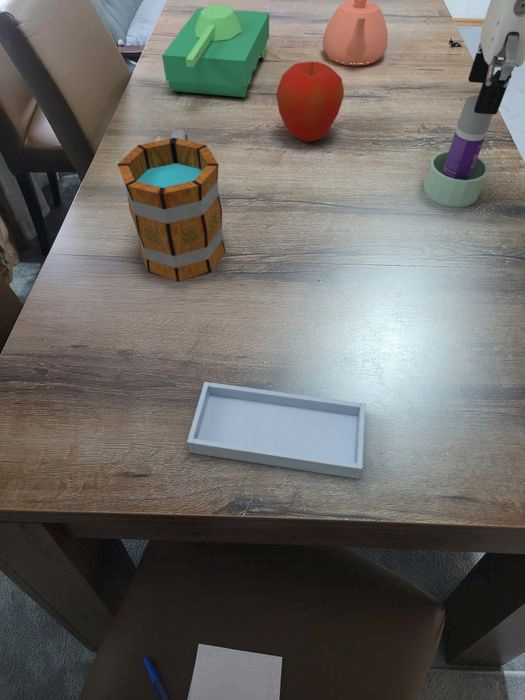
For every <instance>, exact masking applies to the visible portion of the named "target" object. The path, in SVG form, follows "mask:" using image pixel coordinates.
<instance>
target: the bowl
mask: <svg viewBox="0 0 525 700" xmlns="http://www.w3.org/2000/svg"><path fill="white" fill-rule="evenodd" d="M448 152H449V150H445V151H444V150H443V151H440V152H438V153H436V154H434V155H433V156H432V157H431V159H430V161H429V166H428V168H427V171H426V175H425V178H424V182H423V192H424V194H425V196H426V197H428V199H429V200H431V201H433V202H434V203H435V204H438V205H441V206H445V207H448V208H449V207H450V208H464V207H468V206H470V205H472V204H474V203H476V201H477V200H478V198H479V196H480V194H481V192H482V189H483V186H484V184H485V182H486V180H487V177H488V174H489V171H490V170H489V165H488V163H487V162H486V161H485V160H484V159H483V158H481V157H479V156H478V158H477V161H476V163H475V166H474V169H473V171H472V174H471V177H470V180H459V179H454V178H450V177H447V176H445V175H443V174H442V172H443V168H444V165H445V162H446V159H447V156H448Z"/></svg>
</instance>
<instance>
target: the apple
mask: <svg viewBox="0 0 525 700" xmlns="http://www.w3.org/2000/svg"><path fill="white" fill-rule="evenodd" d="M344 95H345V90H344V83H343V79H342V77H341V76H340V75H339V74H338V73H337V72H336V71H335V70H334V69H333V68H332V67H331V66H329V65H328V64H326V63H323V62H319V61H304V62H298V63H295V64H293V65H292V66H290V67H289V68H288V69H287V70H286V71H285V72H284V73H283V74H282V75H281V77H280V80H279V84H278V86H277V90H276V95H275V96H276V102H277V109H278V114H279V115H280V117H281V120H282V122H283V125H284V126H285V128H286V130H287V131H288V132H289V133H290V134H291V135H292V136H293V137H294V138H296V139H297V140H299V141H302V142H304V143H311V142H316V141H317V140H320V139H321V138H323V137H325V136H326V135H327V134H328V132H329V131H330V129H331V127H332V125H333V124H334V122H335V120H336V119H337V117H338V115H339V112H340V109H341V106H342V103H343V100H344Z"/></svg>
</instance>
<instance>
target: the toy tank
mask: <svg viewBox="0 0 525 700" xmlns="http://www.w3.org/2000/svg"><path fill="white" fill-rule="evenodd" d="M269 38H270V12H265V11H264V12H263V11H247V10H234V9H233V8H232V7H231V6H226V5H223V4H217V5H209V6H207V7H205V8H196V9H195V10H194V12H193V13H192V15H191V16H190V17H189V19H188V20H187V21H186V23H185V24H184V26H183V27H182V28H181V29H180V31H179V32H178V34H177V35H176V36H175V37H174V39H173V40H172V41H171V42H170V44H169V45H168V47H167V48H166V49H165V50H164V52H163V53H162V55H161V57H162V63H163V69H164V76H165V81H166V82H167V83H168V86H169V89H170V90H171V91H172V92H179V93H189V94H201V95H213V96H224V97H237V98H245V97H246V95H247V91H248V86H249V85H250V83H251V80H252V75H253V73H254V72H255V71H256V70H257V67H258V63H259V60H260V59H264V58H265V56H266V53H267V45H268V44H267V43H268V40H269ZM260 56H261V57H260ZM171 91H170V92H171Z"/></svg>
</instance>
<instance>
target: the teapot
mask: <svg viewBox="0 0 525 700" xmlns="http://www.w3.org/2000/svg"><path fill="white" fill-rule="evenodd" d="M388 34H389V33H388V27H387V23H386V20H385V17H384V14H383V11H382V10H381V7H380V6H379V5H378V4H377V3H375V2H374V1H370V0H348V1H344V2H342V3H340V4H339V6H338V7H337V8H336V10H335V11H334V13H333V14H332V16H331V18H330V19H329V21H328V23H327V25H326V27H325V30H324V34H323V37H322V48H323V50H324V52H325V54H326V55H327V57H328V58H329V59H330V60H331V61H333V62H336V63H337V64H341V65H346V66H356V67H357V66H366V65H370V64H373V63H375V62H377V61H378V60H379V59H380V58H381V57H382V56H383V55H384V54H385V53H386V51H387V49H388V42H389V35H388ZM336 60H337V61H336ZM372 61H373V62H372ZM343 62H344V63H343ZM367 62H369V63H367ZM350 63H352V64H350ZM353 63H355V64H353ZM357 63H358V64H357ZM359 63H363V64H359Z"/></svg>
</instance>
